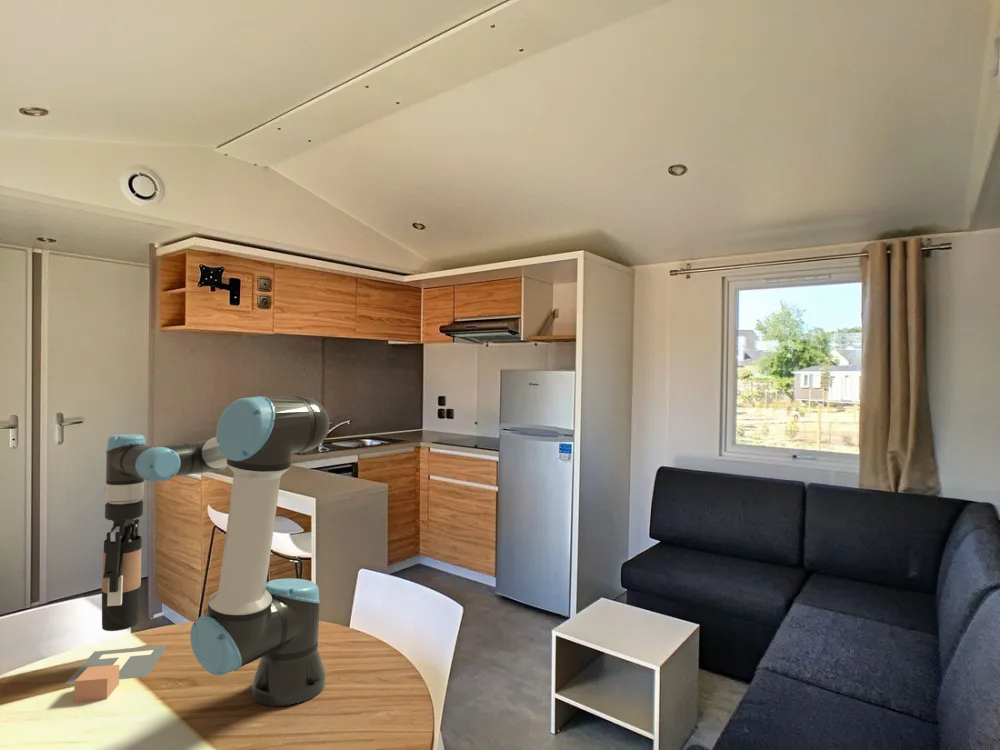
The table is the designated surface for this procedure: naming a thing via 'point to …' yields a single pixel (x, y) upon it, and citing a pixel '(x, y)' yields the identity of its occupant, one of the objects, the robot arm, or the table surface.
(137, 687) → the table surface
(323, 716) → the table surface
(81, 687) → the terracotta block
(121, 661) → the letter mat
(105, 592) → the travel mug
